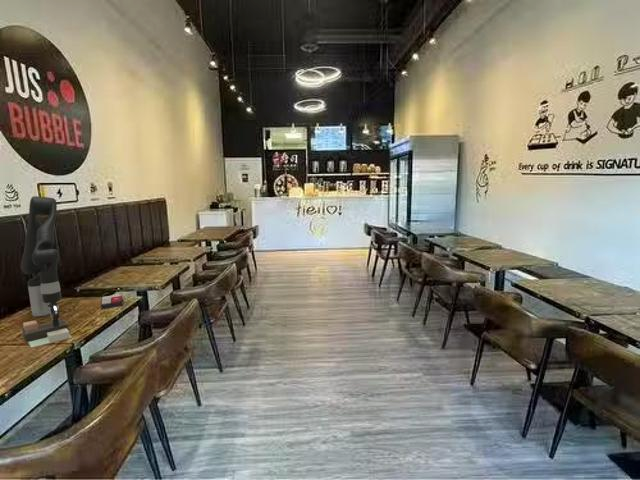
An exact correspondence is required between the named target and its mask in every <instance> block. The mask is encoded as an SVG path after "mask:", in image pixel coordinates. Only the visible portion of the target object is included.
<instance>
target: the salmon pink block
mask: <svg viewBox="0 0 640 480" xmlns="http://www.w3.org/2000/svg"><path fill="white" fill-rule="evenodd" d="M22 324H23V328H24V330H25V332H28V331H32V330H37V329H38V324H39V323H38V322H37V321H36V320H30V321H26V322H22Z"/></svg>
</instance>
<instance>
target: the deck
mask: <svg viewBox="0 0 640 480" xmlns="http://www.w3.org/2000/svg"><path fill="white" fill-rule="evenodd" d="M58 321H59V326H57V327H54V326H53V321H52V320H51V321H48V322H43V323H38V329H37V330H32V331H28V332H25V330H24V327H22V328H21V329H22V337H23V338H24V340H25V342H26V343H27V342H30V341H34V340H38V339H42V338H46V337H47V333H49V332H53V331H57V330H61V329H65V328H67V329H68V331H69V330H70V329H69V324H68V323H67V322H66V320H65V319H64V318H59V319H58ZM69 332H70V331H69Z"/></svg>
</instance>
